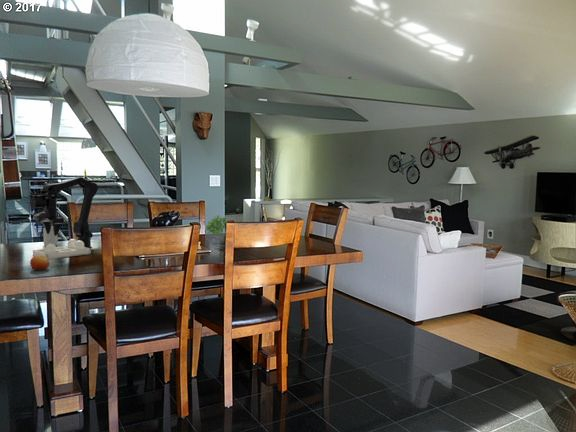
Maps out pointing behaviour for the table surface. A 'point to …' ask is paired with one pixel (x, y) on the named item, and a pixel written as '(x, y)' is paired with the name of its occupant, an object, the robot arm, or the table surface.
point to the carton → (66, 250)
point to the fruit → (39, 263)
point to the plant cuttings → (216, 226)
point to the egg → (50, 248)
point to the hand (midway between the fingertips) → (51, 234)
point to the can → (49, 237)
